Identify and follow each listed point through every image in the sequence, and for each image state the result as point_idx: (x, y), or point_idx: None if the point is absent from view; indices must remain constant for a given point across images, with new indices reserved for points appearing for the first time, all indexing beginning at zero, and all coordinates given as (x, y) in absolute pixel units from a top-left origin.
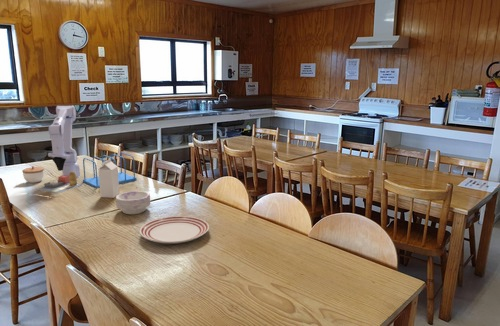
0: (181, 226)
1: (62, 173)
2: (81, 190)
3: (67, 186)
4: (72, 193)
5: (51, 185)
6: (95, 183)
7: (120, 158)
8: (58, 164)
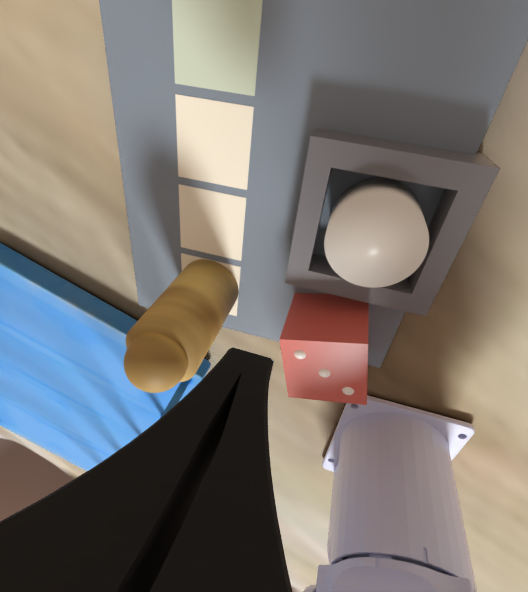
0: None
1: (441, 472)
2: (43, 173)
3: (217, 228)
4: (15, 50)
5: (344, 139)
6: (38, 304)
7: None
8: (156, 442)
